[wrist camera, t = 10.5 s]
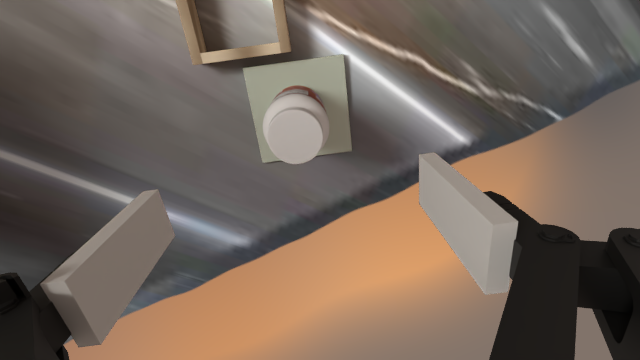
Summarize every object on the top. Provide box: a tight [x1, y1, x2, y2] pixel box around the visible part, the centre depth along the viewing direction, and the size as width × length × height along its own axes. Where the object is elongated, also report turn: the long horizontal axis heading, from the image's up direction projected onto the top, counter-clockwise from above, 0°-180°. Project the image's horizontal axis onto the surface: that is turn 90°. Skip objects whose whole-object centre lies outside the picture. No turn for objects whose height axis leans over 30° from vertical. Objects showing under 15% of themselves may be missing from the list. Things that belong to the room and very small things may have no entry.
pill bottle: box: [263, 85, 329, 164], centre depth 31 cm, size 6×6×11 cm
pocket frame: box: [176, 0, 292, 65], centre depth 31 cm, size 10×10×2 cm
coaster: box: [243, 54, 352, 163], centre depth 36 cm, size 11×11×1 cm
